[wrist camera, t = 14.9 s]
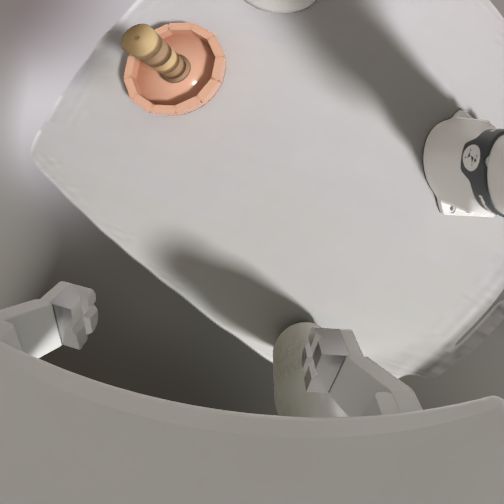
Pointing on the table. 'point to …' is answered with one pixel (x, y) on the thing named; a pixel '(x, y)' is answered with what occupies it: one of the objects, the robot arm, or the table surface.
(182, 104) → the dish
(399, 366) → the table surface
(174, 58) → the tan wooden ridged cylinder
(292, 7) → the candlestick
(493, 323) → the table surface
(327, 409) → the glass bottle
